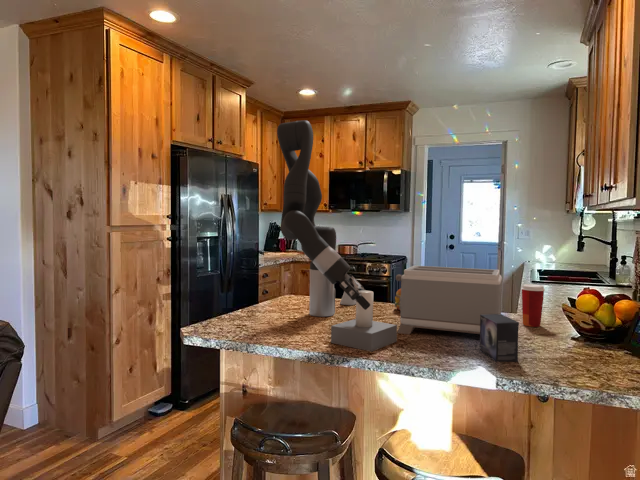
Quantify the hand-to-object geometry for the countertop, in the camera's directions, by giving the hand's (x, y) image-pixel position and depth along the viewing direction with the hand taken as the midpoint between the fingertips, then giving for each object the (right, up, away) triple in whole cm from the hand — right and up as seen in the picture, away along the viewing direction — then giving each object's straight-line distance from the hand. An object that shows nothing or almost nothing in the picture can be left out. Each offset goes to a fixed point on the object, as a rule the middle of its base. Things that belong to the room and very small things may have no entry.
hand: (369, 304), depth 139 cm
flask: (-2, -8, +63) cm, 63 cm away
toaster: (+27, -11, +16) cm, 33 cm away
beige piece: (-2, -6, 0) cm, 6 cm away
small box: (+33, -12, -11) cm, 37 cm away
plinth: (-2, -11, +1) cm, 11 cm away
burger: (+22, -9, +50) cm, 55 cm away
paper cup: (+59, -11, +27) cm, 66 cm away
